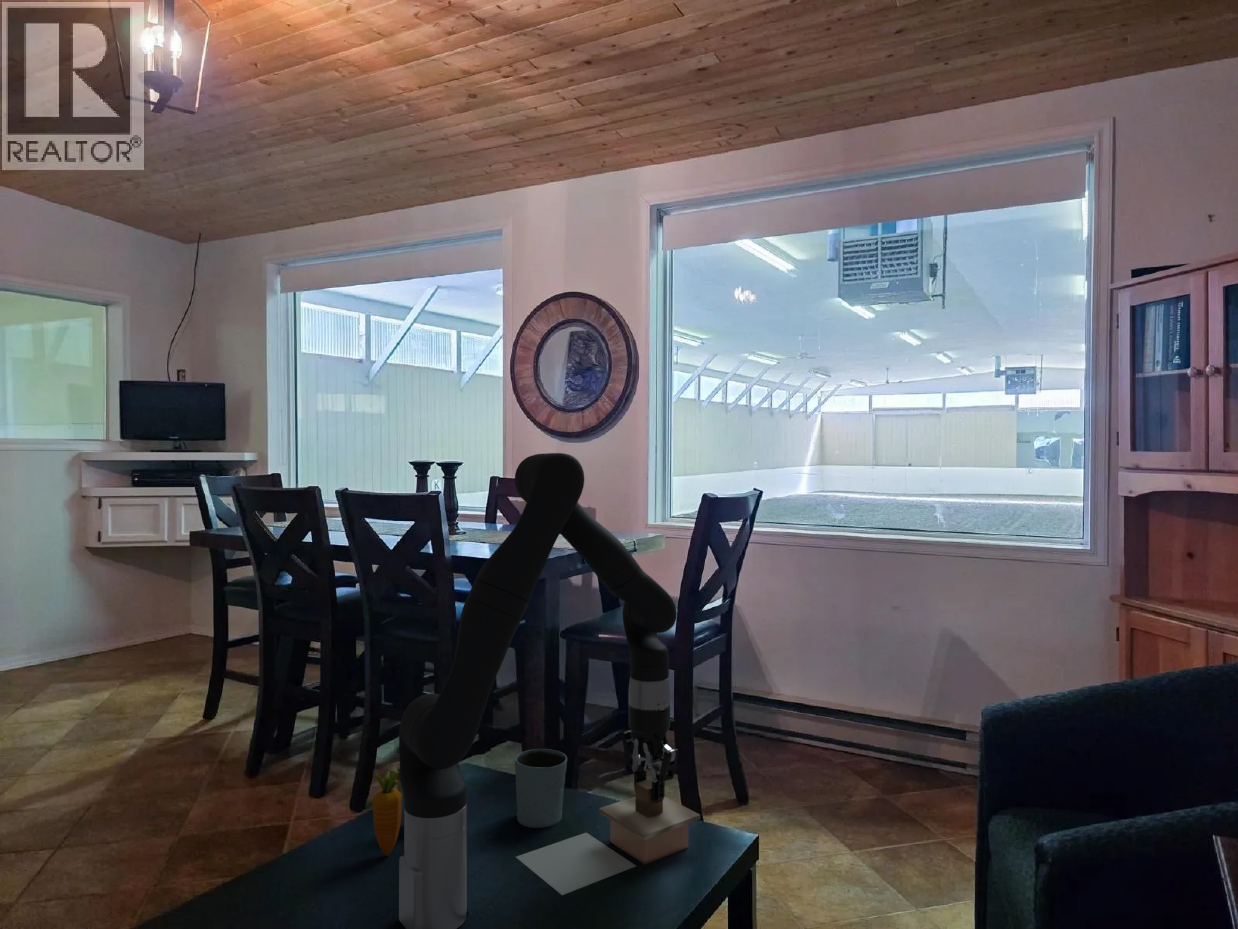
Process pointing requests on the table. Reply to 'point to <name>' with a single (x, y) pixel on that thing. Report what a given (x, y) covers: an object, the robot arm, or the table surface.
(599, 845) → the tray
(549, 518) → the robot arm
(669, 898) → the table surface
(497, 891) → the table surface
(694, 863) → the table surface
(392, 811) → the carrot
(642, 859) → the open square box
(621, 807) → the lid
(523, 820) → the grey cup
